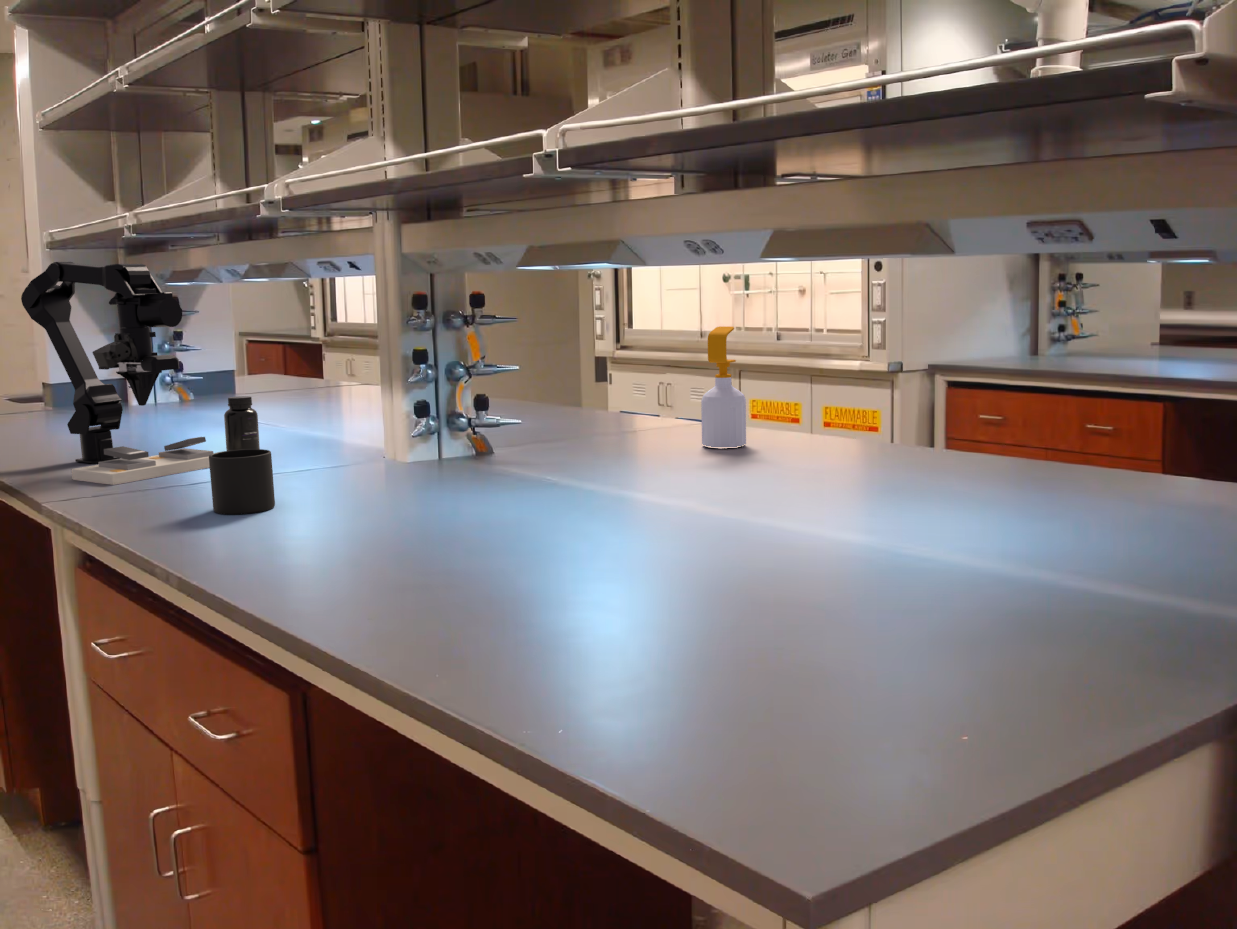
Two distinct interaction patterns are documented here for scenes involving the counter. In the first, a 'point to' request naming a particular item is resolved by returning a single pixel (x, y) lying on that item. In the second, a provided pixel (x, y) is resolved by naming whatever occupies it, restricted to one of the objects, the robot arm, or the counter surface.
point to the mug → (242, 481)
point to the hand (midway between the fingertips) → (142, 405)
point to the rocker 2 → (185, 443)
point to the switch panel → (144, 467)
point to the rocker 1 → (126, 453)
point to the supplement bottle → (241, 424)
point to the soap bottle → (722, 399)
